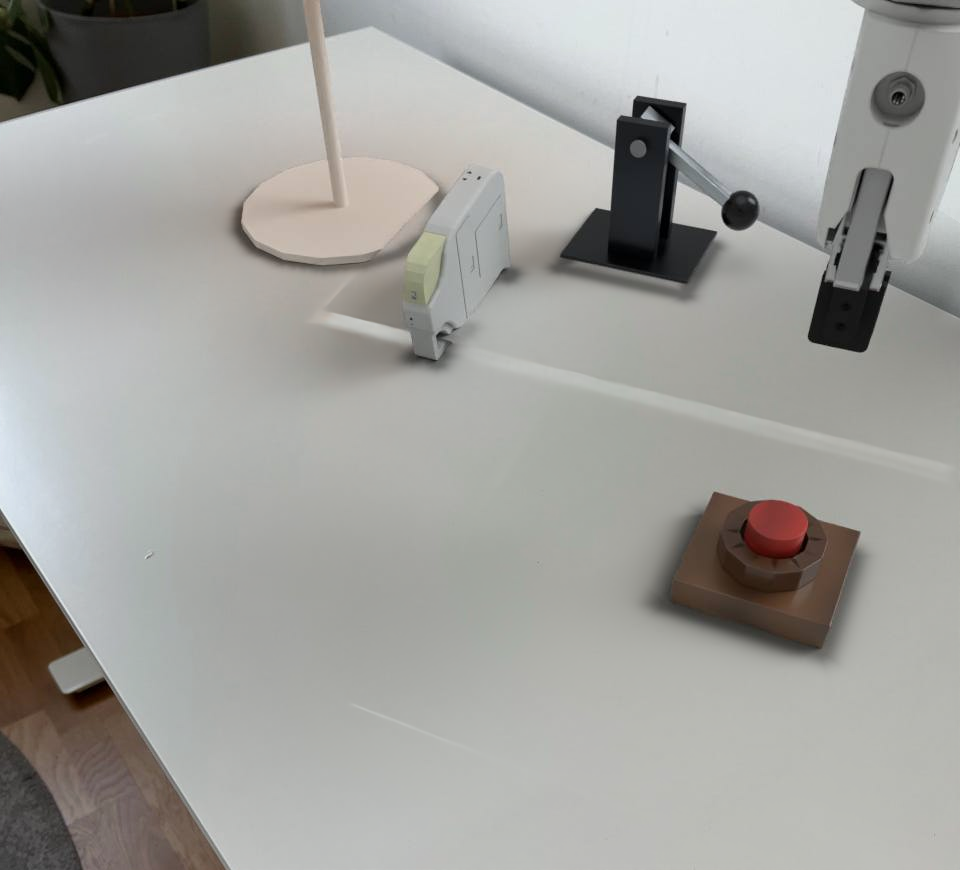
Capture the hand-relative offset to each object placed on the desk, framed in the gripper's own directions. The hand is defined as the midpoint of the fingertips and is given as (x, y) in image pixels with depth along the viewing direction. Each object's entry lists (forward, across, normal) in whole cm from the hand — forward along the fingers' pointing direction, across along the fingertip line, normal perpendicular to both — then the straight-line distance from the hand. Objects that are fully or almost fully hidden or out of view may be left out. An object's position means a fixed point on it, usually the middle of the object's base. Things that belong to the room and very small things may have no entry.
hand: (839, 339), depth 54 cm
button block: (+17, -3, 0) cm, 17 cm away
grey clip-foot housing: (+17, +17, +32) cm, 40 cm away
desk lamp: (+17, +29, +51) cm, 61 cm away
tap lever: (+10, +32, +18) cm, 38 cm away
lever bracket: (+17, +32, +21) cm, 42 cm away
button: (+13, -3, 0) cm, 13 cm away
